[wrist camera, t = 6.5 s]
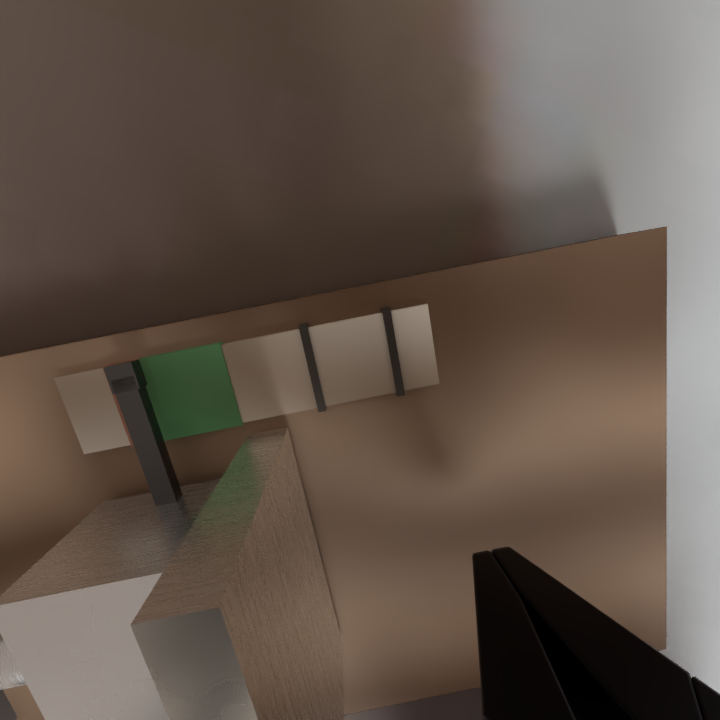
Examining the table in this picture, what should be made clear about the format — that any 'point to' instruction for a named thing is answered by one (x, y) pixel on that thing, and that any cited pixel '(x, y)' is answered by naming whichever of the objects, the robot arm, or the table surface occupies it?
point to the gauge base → (392, 443)
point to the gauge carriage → (181, 595)
